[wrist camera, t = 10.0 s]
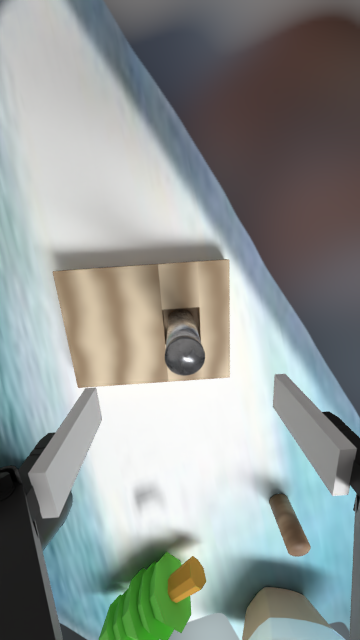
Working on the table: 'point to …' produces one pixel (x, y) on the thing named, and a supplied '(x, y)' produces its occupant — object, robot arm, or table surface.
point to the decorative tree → (155, 601)
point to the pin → (183, 344)
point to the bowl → (285, 618)
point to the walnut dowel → (289, 525)
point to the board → (142, 319)
